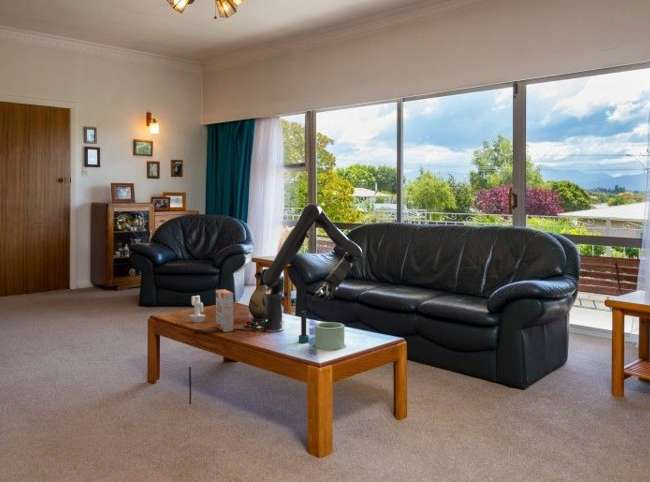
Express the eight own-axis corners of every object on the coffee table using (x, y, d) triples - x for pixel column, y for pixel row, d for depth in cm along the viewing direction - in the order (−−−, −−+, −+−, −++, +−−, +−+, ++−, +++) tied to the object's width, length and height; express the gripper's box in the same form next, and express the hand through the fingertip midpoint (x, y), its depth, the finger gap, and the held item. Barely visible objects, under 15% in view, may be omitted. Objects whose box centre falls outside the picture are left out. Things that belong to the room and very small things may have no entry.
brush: (298, 342, 275) (298, 312, 275) (299, 340, 280) (299, 310, 280) (308, 343, 275) (308, 312, 275) (309, 340, 280) (309, 310, 280)
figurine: (196, 323, 319) (196, 297, 319) (187, 321, 325) (187, 295, 325) (207, 321, 324) (207, 295, 324) (197, 319, 331) (197, 294, 331)
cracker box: (215, 327, 309) (215, 289, 309) (225, 326, 312) (226, 289, 312) (222, 332, 297) (222, 293, 297) (233, 331, 299) (233, 292, 300)
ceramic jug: (262, 322, 322) (263, 270, 322) (243, 319, 330) (243, 269, 331) (281, 318, 335) (281, 268, 336) (262, 315, 344) (262, 266, 344)
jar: (314, 349, 262) (314, 328, 262) (315, 342, 276) (315, 322, 276) (344, 349, 262) (344, 328, 262) (344, 342, 276) (344, 322, 276)
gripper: (324, 271, 293) (305, 294, 287) (340, 273, 282) (321, 298, 275) (332, 280, 296) (314, 304, 290) (348, 283, 285) (330, 308, 278)
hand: (317, 301), depth 282 cm, fingers open, 8 cm apart
